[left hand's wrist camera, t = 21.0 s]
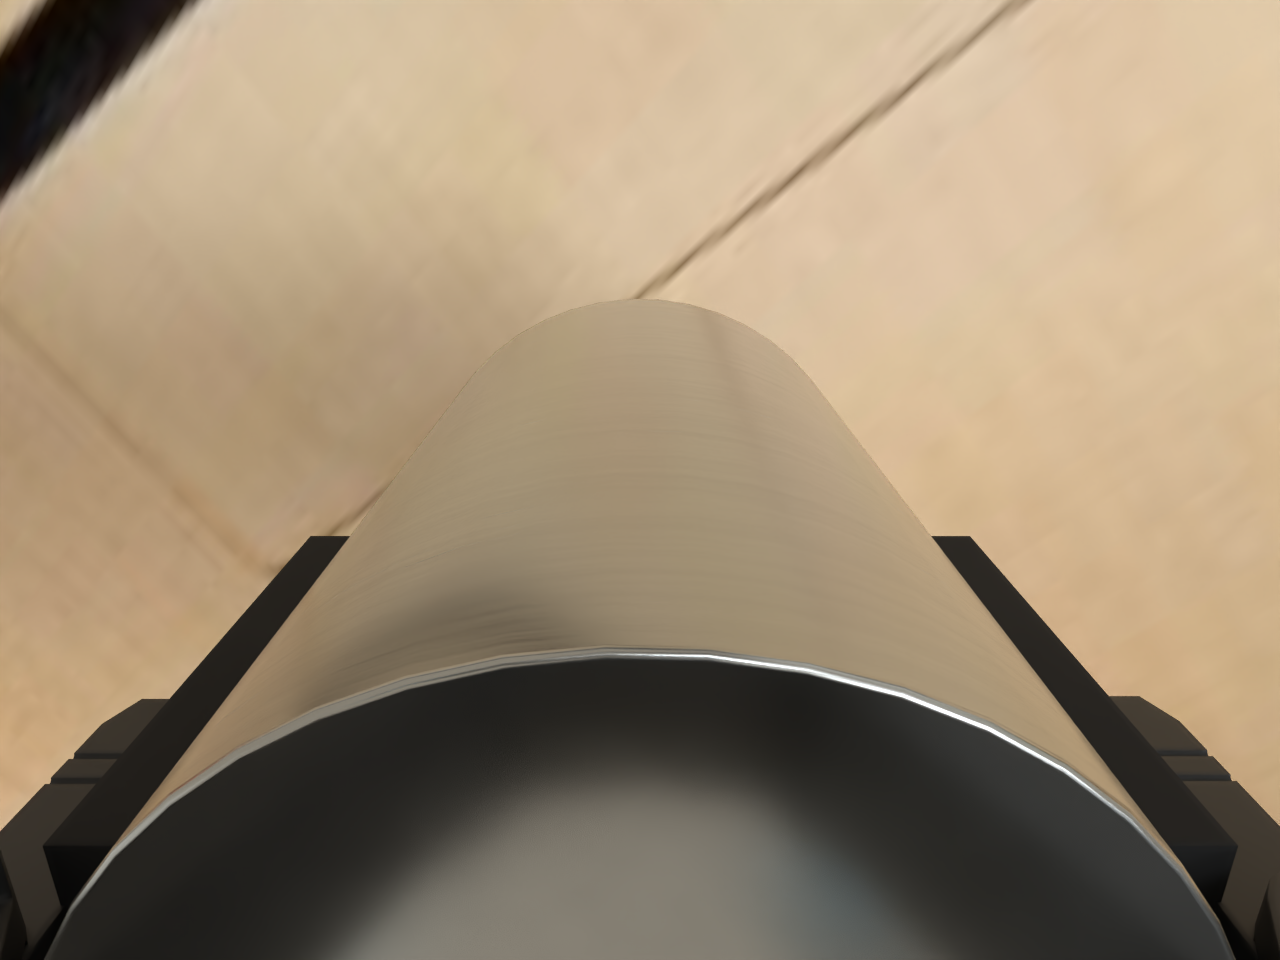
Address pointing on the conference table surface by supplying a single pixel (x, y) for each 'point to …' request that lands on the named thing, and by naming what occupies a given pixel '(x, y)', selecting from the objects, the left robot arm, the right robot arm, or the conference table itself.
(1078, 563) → the conference table surface
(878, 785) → the can
